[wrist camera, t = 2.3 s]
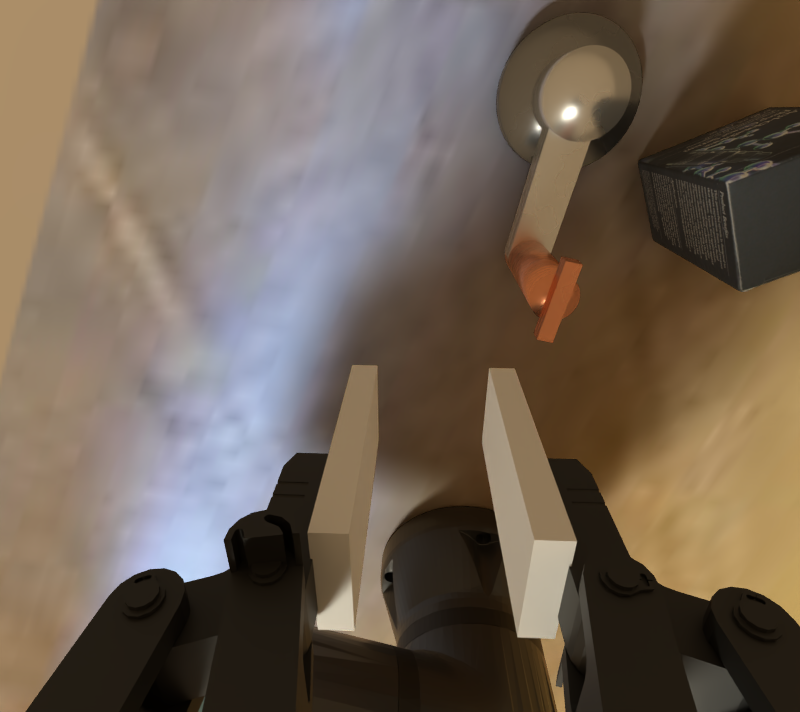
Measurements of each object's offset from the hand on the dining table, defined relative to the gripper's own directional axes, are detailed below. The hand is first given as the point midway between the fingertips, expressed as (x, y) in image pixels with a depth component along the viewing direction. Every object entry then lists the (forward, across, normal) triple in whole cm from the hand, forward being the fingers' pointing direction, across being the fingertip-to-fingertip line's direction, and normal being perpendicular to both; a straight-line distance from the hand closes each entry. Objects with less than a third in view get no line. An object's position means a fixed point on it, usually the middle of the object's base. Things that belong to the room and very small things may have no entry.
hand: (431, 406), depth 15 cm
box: (+21, +18, +4) cm, 28 cm away
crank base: (+21, +8, +9) cm, 24 cm away
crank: (+19, +7, +4) cm, 21 cm away
